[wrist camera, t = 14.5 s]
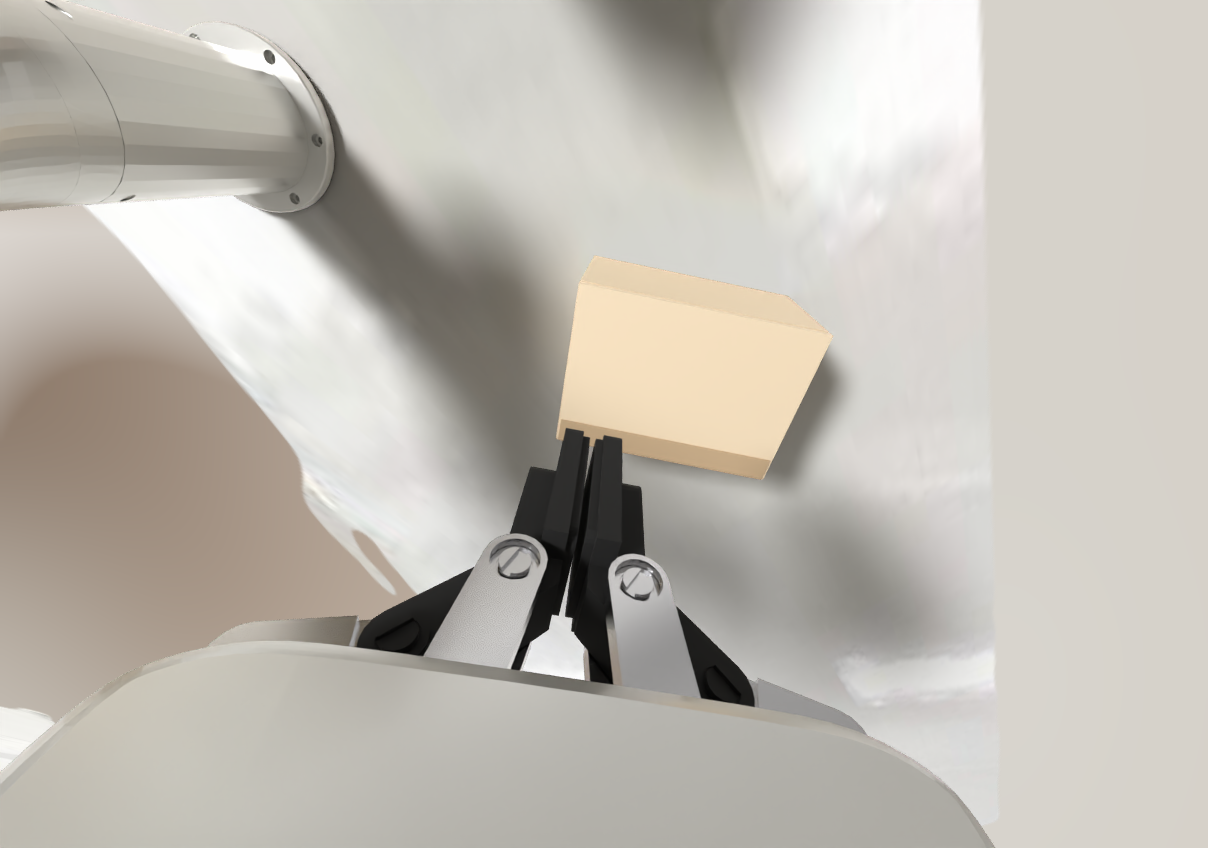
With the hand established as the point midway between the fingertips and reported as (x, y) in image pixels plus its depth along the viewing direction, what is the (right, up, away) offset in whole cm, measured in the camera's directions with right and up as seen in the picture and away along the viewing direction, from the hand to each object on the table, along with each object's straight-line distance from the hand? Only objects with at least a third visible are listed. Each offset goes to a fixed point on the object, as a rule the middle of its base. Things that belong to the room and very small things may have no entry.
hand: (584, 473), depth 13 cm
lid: (+7, +4, +21) cm, 22 cm away
